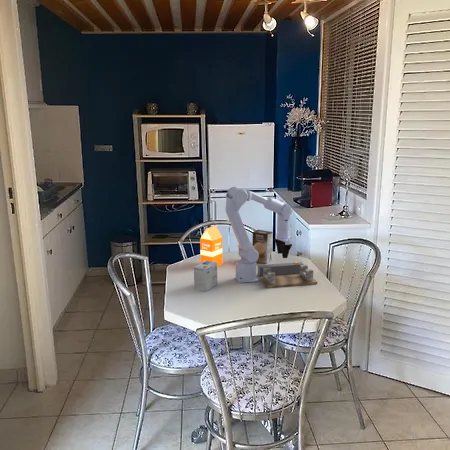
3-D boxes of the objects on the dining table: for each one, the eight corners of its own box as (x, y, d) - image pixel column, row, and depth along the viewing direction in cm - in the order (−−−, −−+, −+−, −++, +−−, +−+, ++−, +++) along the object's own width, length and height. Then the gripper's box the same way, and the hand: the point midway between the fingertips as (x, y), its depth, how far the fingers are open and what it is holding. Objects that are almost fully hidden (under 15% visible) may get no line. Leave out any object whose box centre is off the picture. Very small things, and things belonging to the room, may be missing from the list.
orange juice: (200, 265, 243) (199, 227, 239) (210, 261, 251) (210, 224, 246) (212, 268, 239) (212, 229, 235) (222, 263, 246) (222, 226, 242)
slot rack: (266, 288, 211) (266, 275, 210) (259, 279, 222) (259, 267, 221) (317, 284, 216) (317, 271, 214) (307, 275, 227) (308, 263, 226)
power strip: (259, 277, 226) (259, 266, 224) (257, 275, 229) (257, 264, 228) (303, 274, 230) (303, 263, 229) (300, 271, 233) (301, 260, 232)
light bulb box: (205, 282, 220) (204, 259, 217) (218, 284, 217) (217, 261, 214) (193, 289, 210) (193, 266, 208) (207, 292, 208) (206, 268, 205)
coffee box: (251, 261, 250) (251, 231, 246) (257, 258, 255) (257, 229, 251) (267, 264, 245) (267, 234, 241) (272, 260, 250) (273, 231, 247)
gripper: (296, 231, 218) (295, 259, 221) (286, 224, 232) (285, 251, 235) (281, 231, 217) (281, 260, 220) (272, 224, 230) (272, 251, 234)
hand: (282, 255), depth 227 cm, fingers open, 7 cm apart
